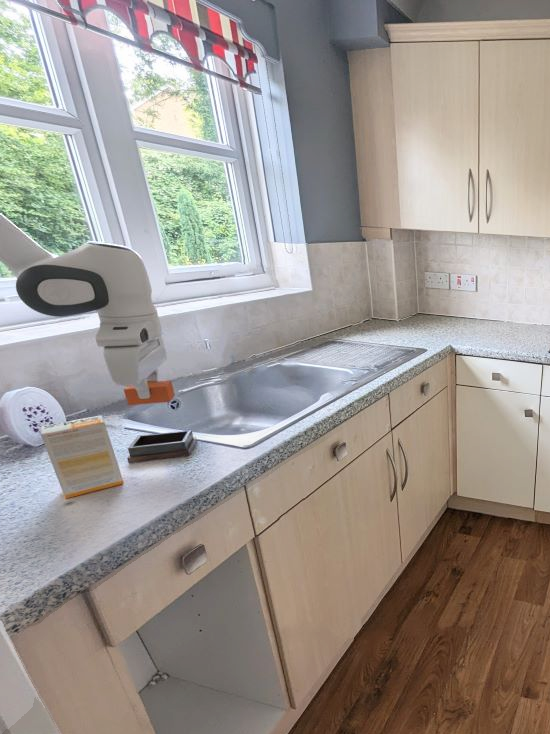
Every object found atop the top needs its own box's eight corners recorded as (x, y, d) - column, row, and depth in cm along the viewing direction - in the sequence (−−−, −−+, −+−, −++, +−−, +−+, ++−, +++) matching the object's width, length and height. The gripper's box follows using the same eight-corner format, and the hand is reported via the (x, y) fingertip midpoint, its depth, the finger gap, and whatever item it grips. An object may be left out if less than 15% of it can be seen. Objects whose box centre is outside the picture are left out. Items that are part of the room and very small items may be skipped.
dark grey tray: (128, 463, 94) (124, 449, 93) (140, 448, 101) (136, 434, 99) (189, 455, 98) (186, 442, 97) (197, 441, 105) (194, 428, 104)
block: (128, 405, 92) (123, 389, 91) (134, 399, 96) (130, 383, 94) (170, 401, 95) (166, 386, 94) (175, 395, 98) (171, 380, 97)
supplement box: (121, 474, 90) (103, 413, 85) (124, 484, 87) (105, 421, 82) (63, 489, 84) (40, 424, 80) (63, 499, 81) (39, 433, 77)
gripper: (130, 319, 98) (146, 380, 102) (90, 339, 80) (112, 412, 85) (166, 318, 100) (180, 377, 105) (135, 338, 83) (154, 408, 87)
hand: (149, 393), depth 95 cm, fingers closed on block, 4 cm apart
